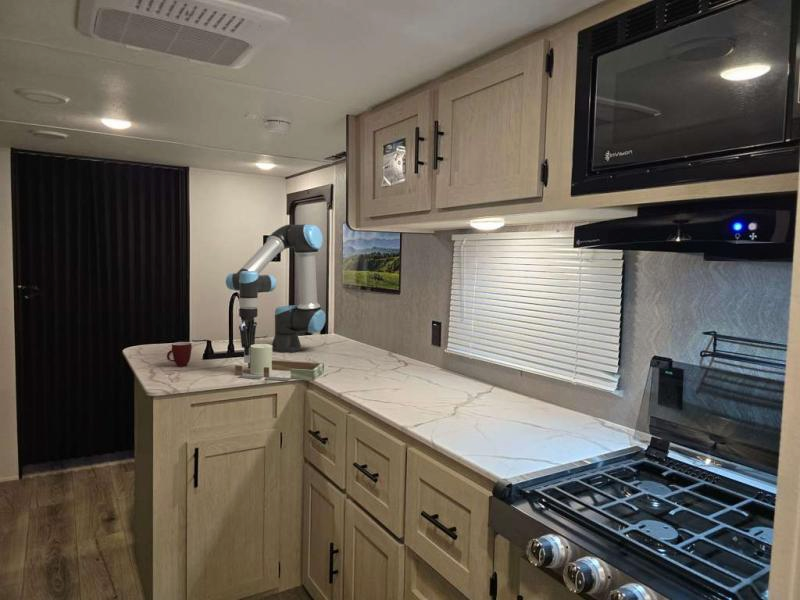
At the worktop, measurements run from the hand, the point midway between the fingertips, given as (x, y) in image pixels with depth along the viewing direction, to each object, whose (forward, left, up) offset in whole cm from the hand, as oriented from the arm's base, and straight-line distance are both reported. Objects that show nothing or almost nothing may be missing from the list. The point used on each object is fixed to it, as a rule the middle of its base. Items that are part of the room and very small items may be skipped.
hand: (247, 362), depth 229 cm
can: (0, +6, -4) cm, 7 cm away
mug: (-2, -33, -4) cm, 33 cm away
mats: (+9, +11, -4) cm, 15 cm away
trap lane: (0, +14, -4) cm, 15 cm away
